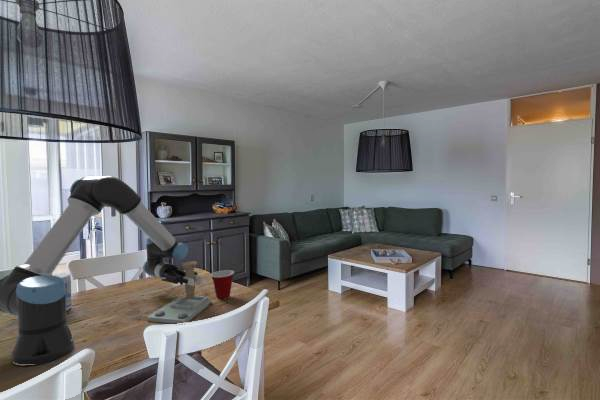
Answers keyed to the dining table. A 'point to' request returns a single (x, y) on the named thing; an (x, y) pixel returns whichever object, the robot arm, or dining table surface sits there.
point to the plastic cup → (222, 283)
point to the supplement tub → (67, 281)
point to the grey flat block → (180, 310)
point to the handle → (190, 274)
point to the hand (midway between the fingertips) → (197, 281)
